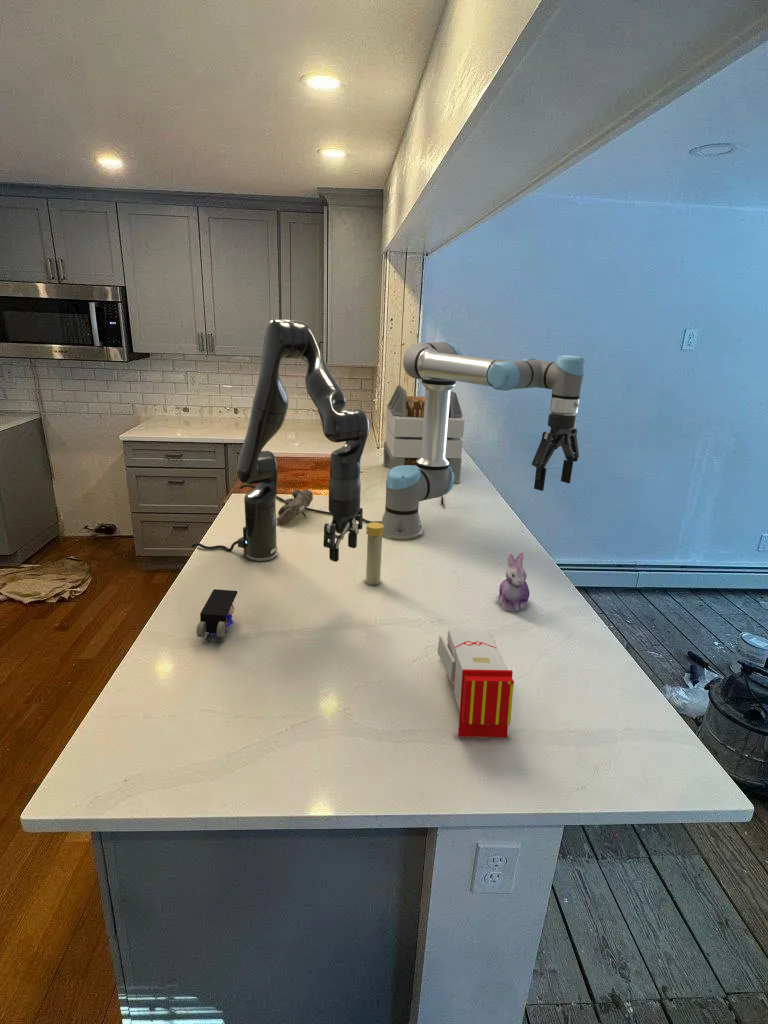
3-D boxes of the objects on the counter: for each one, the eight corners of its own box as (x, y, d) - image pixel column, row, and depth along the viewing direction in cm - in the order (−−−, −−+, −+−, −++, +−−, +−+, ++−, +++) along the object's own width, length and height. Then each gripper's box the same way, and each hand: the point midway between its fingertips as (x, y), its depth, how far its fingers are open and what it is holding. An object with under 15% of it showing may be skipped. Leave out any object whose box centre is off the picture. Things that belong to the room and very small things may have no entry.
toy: (488, 613, 130) (523, 677, 101) (484, 667, 133) (517, 744, 104) (435, 612, 130) (455, 676, 101) (432, 666, 133) (451, 743, 103)
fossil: (282, 495, 221) (310, 474, 216) (298, 513, 224) (326, 493, 219) (266, 520, 201) (297, 498, 196) (284, 540, 204) (315, 519, 199)
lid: (379, 529, 162) (379, 521, 161) (386, 535, 158) (386, 527, 157) (363, 531, 160) (363, 523, 159) (370, 537, 156) (370, 529, 155)
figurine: (511, 616, 149) (518, 564, 143) (487, 598, 157) (493, 549, 152) (539, 609, 153) (547, 558, 148) (514, 592, 161) (521, 544, 156)
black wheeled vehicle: (226, 651, 131) (240, 612, 144) (223, 625, 127) (238, 587, 141) (197, 650, 130) (213, 611, 144) (193, 624, 127) (210, 586, 140)
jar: (376, 578, 167) (378, 523, 161) (382, 584, 163) (384, 528, 157) (363, 580, 165) (365, 525, 159) (369, 586, 162) (371, 530, 156)
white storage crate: (382, 463, 289) (386, 382, 275) (445, 464, 293) (451, 384, 279) (390, 482, 257) (394, 392, 243) (460, 483, 261) (468, 394, 247)
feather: (441, 490, 254) (443, 487, 253) (443, 509, 227) (446, 505, 227) (438, 488, 254) (440, 484, 253) (440, 506, 227) (443, 503, 226)
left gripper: (346, 481, 142) (345, 539, 148) (314, 499, 130) (314, 561, 137) (373, 487, 139) (370, 546, 145) (342, 506, 127) (340, 569, 134)
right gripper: (548, 419, 148) (537, 496, 155) (598, 411, 163) (586, 482, 171) (525, 414, 153) (515, 489, 160) (575, 407, 169) (564, 476, 176)
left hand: (343, 553), depth 141 cm, fingers open, 8 cm apart
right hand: (552, 485), depth 166 cm, fingers open, 13 cm apart
